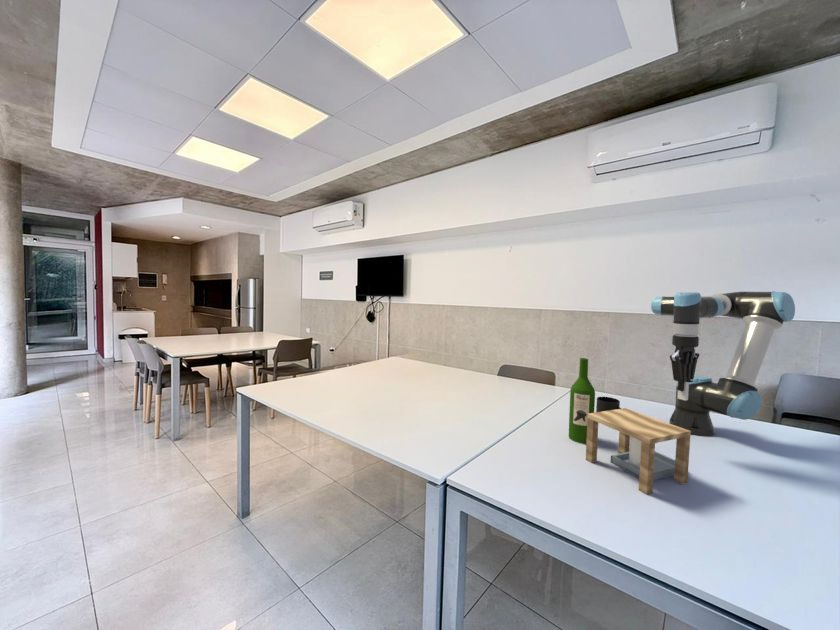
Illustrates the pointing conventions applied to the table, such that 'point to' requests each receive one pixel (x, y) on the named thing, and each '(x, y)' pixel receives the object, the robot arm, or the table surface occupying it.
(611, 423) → the small wooden table
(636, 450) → the beverage can
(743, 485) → the table surface
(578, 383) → the wine bottle
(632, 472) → the tray
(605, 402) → the mug
